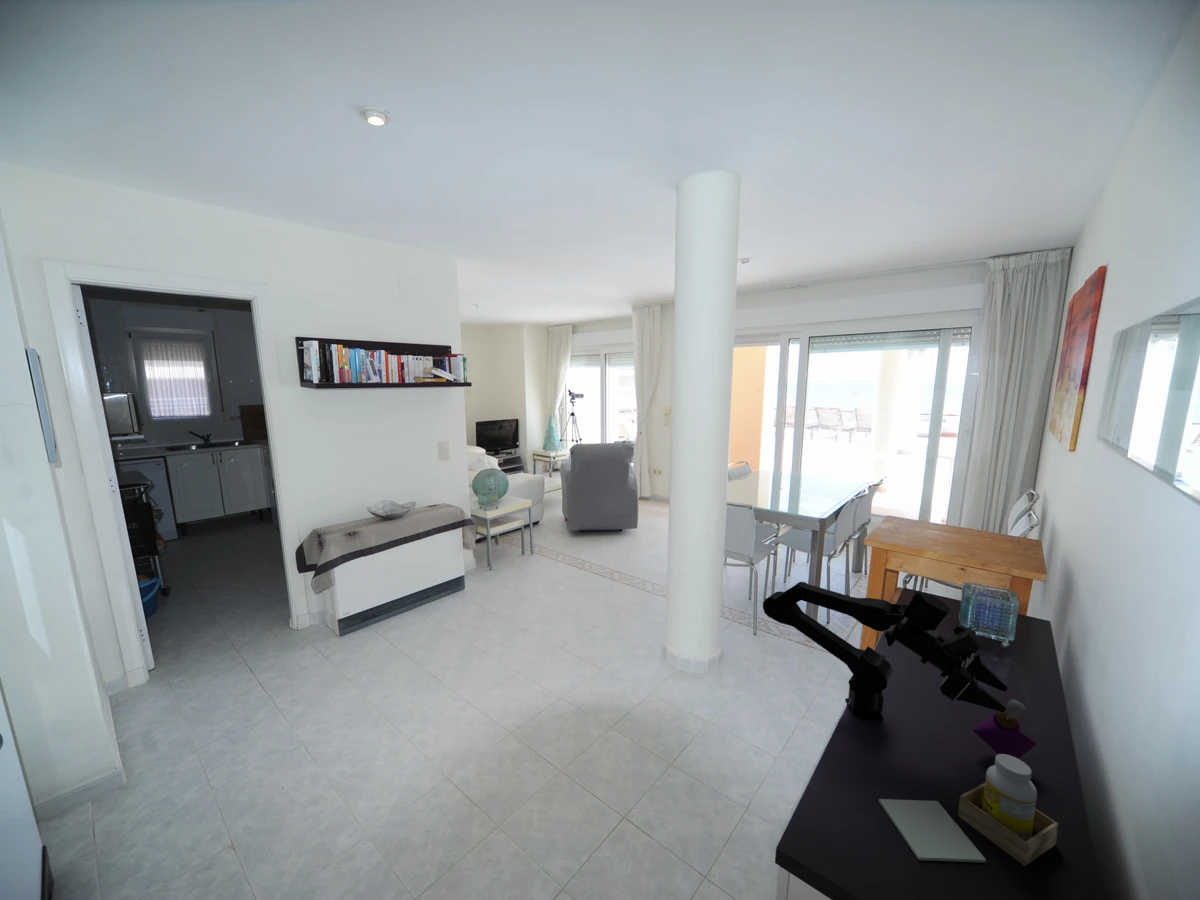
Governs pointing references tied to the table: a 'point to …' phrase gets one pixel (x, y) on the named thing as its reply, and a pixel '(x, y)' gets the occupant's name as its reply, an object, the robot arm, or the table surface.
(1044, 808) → the table surface
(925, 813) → the sage mat
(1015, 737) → the perfume bottle
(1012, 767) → the supplement bottle
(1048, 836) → the wooden box
